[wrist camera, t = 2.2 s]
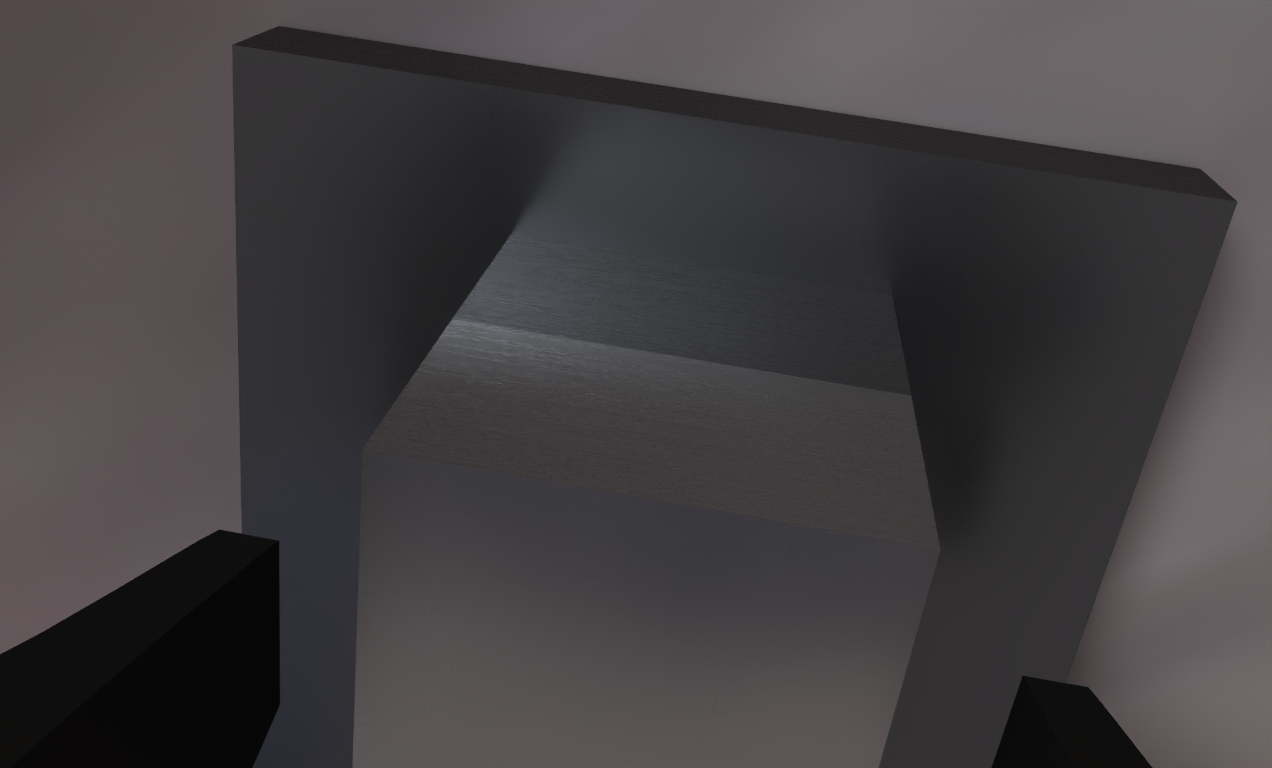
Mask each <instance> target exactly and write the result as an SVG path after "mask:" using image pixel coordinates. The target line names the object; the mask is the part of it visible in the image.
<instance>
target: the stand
mask: <svg viewBox="0 0 1272 768" xmlns="http://www.w3.org/2000/svg"><path fill="white" fill-rule="evenodd" d="M232 50H233V101H234V152H235V203H236V254H237V305H238V357H239V408H240V459H241V510H242V534H246V535H251V536H257V537H262V538H268V539H273V540H279V578H280V706H279V708H278V710H277V713H276V715H275V717H274V720H273V722H272V724H271V727H270V729H269V731H268V734H267V736H266V738H265V741H264V743H263V745H262V747H261V750H260V752H259V754H258V757H257V759H256V761H255V763H254V765H253V767H252V768H352V767H353V735H354V703H355V671H356V639H357V607H358V575H359V543H360V511H361V479H362V449H363V447H364V446H365V444H366V443H367V441H368V440H369V439H370V437H371V436H372V434H373V433H374V431H375V430H376V428H377V427H378V426H379V424H380V423H381V421H382V420H383V418H384V417H385V415H386V414H387V413H388V411H389V410H390V408H391V407H392V405H393V404H394V402H395V401H396V400H397V398H398V397H399V395H400V394H401V392H402V391H403V389H404V388H405V387H406V385H407V384H408V382H409V381H410V379H411V378H412V376H413V375H414V374H415V372H416V371H417V369H418V368H419V366H420V365H421V363H422V362H423V361H424V359H425V358H426V356H427V355H428V353H429V352H430V350H431V349H432V348H433V346H434V345H435V343H436V342H437V340H438V339H439V337H440V336H441V335H442V333H443V332H444V330H445V329H446V327H447V326H448V324H449V323H450V322H451V320H452V319H453V317H454V316H455V314H456V313H457V312H458V310H459V309H460V307H461V306H462V304H463V303H464V301H465V300H466V299H467V297H468V296H469V294H470V293H471V291H472V290H473V288H474V287H475V286H476V284H477V283H478V281H479V280H480V278H481V277H482V275H483V274H484V273H485V271H486V270H487V268H488V267H489V265H490V264H491V262H492V261H493V260H494V258H495V257H496V255H497V254H498V252H499V251H500V249H501V248H502V247H503V245H504V244H505V242H506V241H507V239H508V238H509V236H510V235H511V234H512V233H514V234H520V235H526V236H533V237H539V238H545V239H551V240H557V241H563V242H569V243H575V244H582V245H588V246H594V247H600V248H606V249H612V250H618V251H625V252H631V253H637V254H643V255H649V256H655V257H661V258H667V259H674V260H680V261H686V262H692V263H698V264H704V265H710V266H717V267H723V268H729V269H735V270H741V271H747V272H753V273H760V274H766V275H772V276H778V277H784V278H790V279H796V280H802V281H809V282H815V283H821V284H827V285H833V286H839V287H845V288H852V289H858V290H864V291H870V292H876V293H882V294H888V295H892V296H893V302H894V307H895V312H896V317H897V323H898V328H899V333H900V339H901V344H902V349H903V354H904V360H905V365H906V370H907V376H908V381H909V386H910V391H911V397H912V402H913V407H914V412H915V418H916V423H917V428H918V434H919V439H920V444H921V449H922V455H923V460H924V465H925V471H926V476H927V481H928V486H929V492H930V497H931V502H932V508H933V513H934V518H935V523H936V529H937V534H938V539H939V544H940V553H939V556H938V560H937V564H936V567H935V571H934V574H933V578H932V581H931V585H930V588H929V592H928V595H927V599H926V602H925V606H924V609H923V613H922V616H921V620H920V624H919V627H918V631H917V634H916V638H915V641H914V645H913V648H912V652H911V655H910V659H909V662H908V666H907V669H906V673H905V676H904V680H903V683H902V687H901V691H900V694H899V698H898V701H897V705H896V708H895V712H894V715H893V719H892V722H891V726H890V729H889V733H888V736H887V740H886V743H885V747H884V751H883V754H882V758H881V761H880V765H879V768H991V767H992V764H993V761H994V759H995V756H996V753H997V750H998V747H999V744H1000V741H1001V738H1002V735H1003V732H1004V729H1005V726H1006V723H1007V720H1008V717H1009V714H1010V711H1011V708H1012V706H1013V703H1014V700H1015V697H1016V694H1017V691H1018V688H1019V685H1020V682H1021V679H1022V676H1028V677H1034V678H1039V679H1045V680H1050V681H1056V682H1061V683H1065V682H1066V679H1067V676H1068V673H1069V671H1070V668H1071V665H1072V662H1073V659H1074V657H1075V654H1076V651H1077V648H1078V645H1079V643H1080V640H1081V637H1082V634H1083V631H1084V629H1085V626H1086V623H1087V620H1088V618H1089V615H1090V612H1091V609H1092V606H1093V604H1094V601H1095V598H1096V595H1097V592H1098V590H1099V587H1100V584H1101V581H1102V578H1103V576H1104V573H1105V570H1106V567H1107V564H1108V562H1109V559H1110V556H1111V553H1112V551H1113V548H1114V545H1115V542H1116V539H1117V537H1118V534H1119V531H1120V528H1121V525H1122V523H1123V520H1124V517H1125V514H1126V511H1127V509H1128V506H1129V503H1130V500H1131V498H1132V495H1133V492H1134V489H1135V486H1136V484H1137V481H1138V478H1139V475H1140V472H1141V470H1142V467H1143V464H1144V461H1145V458H1146V456H1147V453H1148V450H1149V447H1150V444H1151V442H1152V439H1153V436H1154V433H1155V431H1156V428H1157V425H1158V422H1159V419H1160V417H1161V414H1162V411H1163V408H1164V405H1165V403H1166V400H1167V397H1168V394H1169V391H1170V389H1171V386H1172V383H1173V380H1174V378H1175V375H1176V372H1177V369H1178V366H1179V364H1180V361H1181V358H1182V355H1183V352H1184V350H1185V347H1186V344H1187V341H1188V338H1189V336H1190V333H1191V330H1192V327H1193V324H1194V322H1195V319H1196V316H1197V313H1198V311H1199V308H1200V305H1201V302H1202V299H1203V297H1204V294H1205V291H1206V288H1207V285H1208V283H1209V280H1210V277H1211V274H1212V271H1213V269H1214V266H1215V263H1216V260H1217V257H1218V255H1219V252H1220V249H1221V246H1222V244H1223V241H1224V238H1225V235H1226V232H1227V230H1228V227H1229V224H1230V221H1231V218H1232V216H1233V213H1234V210H1235V207H1236V204H1237V201H1236V200H1235V199H1234V198H1233V197H1232V196H1230V195H1229V194H1228V193H1227V192H1226V191H1225V190H1224V189H1223V188H1221V187H1220V186H1219V185H1218V184H1217V183H1216V182H1215V181H1213V180H1212V179H1211V178H1210V177H1209V176H1208V175H1207V174H1206V173H1204V172H1203V171H1202V170H1201V169H1198V168H1191V167H1185V166H1178V165H1172V164H1165V163H1159V162H1152V161H1146V160H1140V159H1133V158H1127V157H1120V156H1114V155H1107V154H1101V153H1094V152H1088V151H1081V150H1075V149H1069V148H1062V147H1056V146H1049V145H1043V144H1036V143H1030V142H1023V141H1017V140H1010V139H1004V138H997V137H991V136H985V135H978V134H972V133H965V132H959V131H952V130H946V129H939V128H933V127H926V126H920V125H914V124H907V123H901V122H894V121H888V120H881V119H875V118H868V117H862V116H855V115H849V114H843V113H836V112H830V111H823V110H817V109H810V108H804V107H797V106H791V105H784V104H778V103H771V102H765V101H759V100H752V99H746V98H739V97H733V96H726V95H720V94H713V93H707V92H700V91H694V90H688V89H681V88H675V87H668V86H662V85H655V84H649V83H642V82H636V81H629V80H623V79H617V78H610V77H604V76H597V75H591V74H584V73H578V72H571V71H565V70H558V69H552V68H546V67H539V66H533V65H526V64H520V63H513V62H507V61H500V60H494V59H487V58H481V57H474V56H468V55H462V54H455V53H449V52H442V51H436V50H429V49H423V48H416V47H410V46H403V45H397V44H391V43H384V42H378V41H371V40H365V39H358V38H352V37H345V36H339V35H332V34H326V33H320V32H313V31H307V30H300V29H294V28H287V27H281V26H278V27H275V28H273V29H270V30H268V31H265V32H263V33H260V34H258V35H256V36H253V37H251V38H248V39H246V40H243V41H241V42H238V43H236V44H233V45H232Z"/></svg>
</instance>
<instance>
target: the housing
mask: <svg viewBox="0 0 1272 768" xmlns="http://www.w3.org/2000/svg"><path fill="white" fill-rule="evenodd" d="M939 553H940V544H939V539H938V534H937V529H936V523H935V518H934V513H933V508H932V502H931V497H930V492H929V486H928V481H927V476H926V471H925V465H924V460H923V455H922V449H921V444H920V439H919V434H918V428H917V423H916V418H915V412H914V407H913V402H912V397H911V391H910V386H909V381H908V376H907V370H906V365H905V360H904V354H903V349H902V344H901V339H900V333H899V328H898V323H897V317H896V312H895V307H894V302H893V296H892V295H888V294H882V293H876V292H870V291H864V290H858V289H852V288H845V287H839V286H833V285H827V284H821V283H815V282H809V281H802V280H796V279H790V278H784V277H778V276H772V275H766V274H760V273H753V272H747V271H741V270H735V269H729V268H723V267H717V266H710V265H704V264H698V263H692V262H686V261H680V260H674V259H667V258H661V257H655V256H649V255H643V254H637V253H631V252H625V251H618V250H612V249H606V248H600V247H594V246H588V245H582V244H575V243H569V242H563V241H557V240H551V239H545V238H539V237H533V236H526V235H520V234H514V233H512V234H511V235H510V236H509V238H508V239H507V241H506V242H505V244H504V245H503V247H502V248H501V249H500V251H499V252H498V254H497V255H496V257H495V258H494V260H493V261H492V262H491V264H490V265H489V267H488V268H487V270H486V271H485V273H484V274H483V275H482V277H481V278H480V280H479V281H478V283H477V284H476V286H475V287H474V288H473V290H472V291H471V293H470V294H469V296H468V297H467V299H466V300H465V301H464V303H463V304H462V306H461V307H460V309H459V310H458V312H457V313H456V314H455V316H454V317H453V319H452V320H451V322H450V323H449V324H448V326H447V327H446V329H445V330H444V332H443V333H442V335H441V336H440V337H439V339H438V340H437V342H436V343H435V345H434V346H433V348H432V349H431V350H430V352H429V353H428V355H427V356H426V358H425V359H424V361H423V362H422V363H421V365H420V366H419V368H418V369H417V371H416V372H415V374H414V375H413V376H412V378H411V379H410V381H409V382H408V384H407V385H406V387H405V388H404V389H403V391H402V392H401V394H400V395H399V397H398V398H397V400H396V401H395V402H394V404H393V405H392V407H391V408H390V410H389V411H388V413H387V414H386V415H385V417H384V418H383V420H382V421H381V423H380V424H379V426H378V427H377V428H376V430H375V431H374V433H373V434H372V436H371V437H370V439H369V440H368V441H367V443H366V444H365V446H364V447H363V449H362V479H361V511H360V543H359V575H358V607H357V639H356V671H355V703H354V735H353V767H352V768H879V765H880V761H881V758H882V754H883V751H884V747H885V743H886V740H887V736H888V733H889V729H890V726H891V722H892V719H893V715H894V712H895V708H896V705H897V701H898V698H899V694H900V691H901V687H902V683H903V680H904V676H905V673H906V669H907V666H908V662H909V659H910V655H911V652H912V648H913V645H914V641H915V638H916V634H917V631H918V627H919V624H920V620H921V616H922V613H923V609H924V606H925V602H926V599H927V595H928V592H929V588H930V585H931V581H932V578H933V574H934V571H935V567H936V564H937V560H938V556H939Z"/></svg>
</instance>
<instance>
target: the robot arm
mask: <svg viewBox="0 0 1272 768" xmlns="http://www.w3.org/2000/svg"><path fill="white" fill-rule="evenodd" d="M279 706H280V578H279V540H273V539H268V538H262V537H257V536H251V535H246V534H240V533H235V532H229V531H224V530H218V531H216V532H214V533H212V534H210V535H208V536H207V537H205V538H203V539H201V540H199V541H197V542H196V543H194V544H192V545H190V546H189V547H187V548H185V549H184V550H182V551H180V552H178V553H177V554H175V555H173V556H172V557H170V558H168V559H167V560H165V561H163V562H162V563H160V564H158V565H157V566H155V567H153V568H152V569H150V570H148V571H147V572H145V573H143V574H141V575H140V576H138V577H136V578H135V579H133V580H131V581H130V582H128V583H126V584H125V585H123V586H121V587H120V588H118V589H116V590H115V591H113V592H111V593H109V594H108V595H106V596H104V597H102V598H101V599H99V600H97V601H96V602H94V603H92V604H90V605H89V606H87V607H85V608H83V609H82V610H80V611H78V612H76V613H75V614H73V615H71V616H70V617H68V618H66V619H64V620H63V621H61V622H59V623H57V624H56V625H54V626H52V627H50V628H49V629H47V630H45V631H43V632H42V633H40V634H38V635H36V636H34V637H33V638H31V639H29V640H27V641H25V642H23V643H21V644H19V645H17V646H15V647H13V648H11V649H10V650H8V651H6V652H4V653H2V654H0V768H252V767H253V765H254V763H255V761H256V759H257V757H258V754H259V752H260V750H261V747H262V745H263V743H264V741H265V738H266V736H267V734H268V731H269V729H270V727H271V724H272V722H273V720H274V717H275V715H276V713H277V710H278V708H279ZM991 768H1152V767H1151V765H1150V764H1149V763H1148V762H1147V760H1146V759H1145V758H1144V756H1143V755H1142V754H1141V753H1140V751H1139V750H1138V749H1137V748H1136V746H1135V745H1134V744H1133V742H1132V741H1131V740H1130V739H1129V737H1128V736H1127V735H1126V733H1125V732H1124V731H1123V730H1122V728H1121V727H1120V726H1119V724H1118V723H1117V722H1116V721H1115V719H1114V718H1113V717H1112V716H1111V714H1110V713H1109V712H1108V711H1107V709H1106V708H1105V707H1104V706H1103V704H1102V703H1101V702H1100V701H1099V699H1098V698H1097V697H1096V696H1095V695H1094V693H1093V692H1092V691H1091V690H1090V689H1089V688H1088V687H1083V686H1078V685H1072V684H1067V683H1061V682H1056V681H1050V680H1045V679H1039V678H1034V677H1028V676H1022V679H1021V682H1020V685H1019V688H1018V691H1017V694H1016V697H1015V700H1014V703H1013V706H1012V708H1011V711H1010V714H1009V717H1008V720H1007V723H1006V726H1005V729H1004V732H1003V735H1002V738H1001V741H1000V744H999V747H998V750H997V753H996V756H995V759H994V761H993V764H992V767H991Z"/></svg>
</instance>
